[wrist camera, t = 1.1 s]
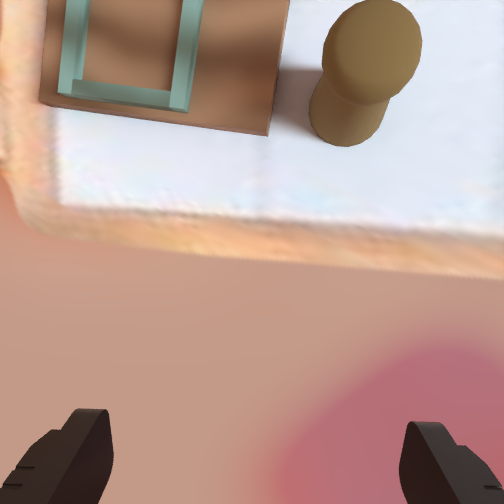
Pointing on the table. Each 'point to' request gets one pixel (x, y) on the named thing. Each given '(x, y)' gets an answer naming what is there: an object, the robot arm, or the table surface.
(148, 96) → the holder plate
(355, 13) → the cork
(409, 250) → the table surface
